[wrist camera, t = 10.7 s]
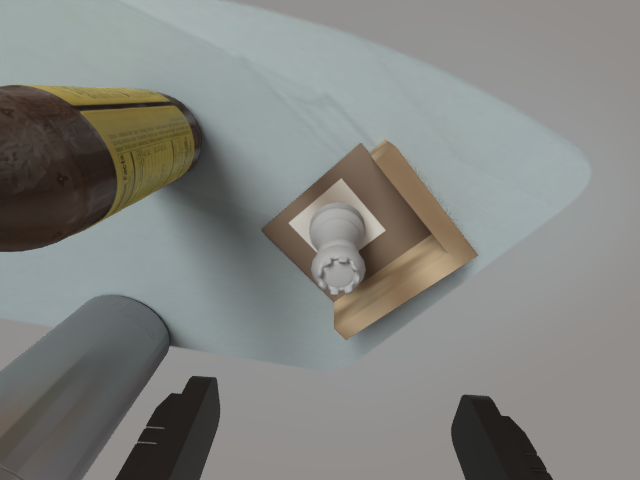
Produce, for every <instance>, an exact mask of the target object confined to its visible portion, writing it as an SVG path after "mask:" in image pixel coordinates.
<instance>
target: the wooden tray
mask: <svg viewBox="0 0 640 480" xmlns="http://www.w3.org/2000/svg"><path fill="white" fill-rule="evenodd" d="M336 202H339V203H344V204H349V205H350V206H352V207H353V208H355V209H357V210H358V211H359V213H360V214H361V216H362V217H363V219H364V224H365V237H364V241H363V244H362V246H361V247H360V248H359V249H358V251H359V254H360V256H361V257H362V259H363V260H364V263H365V269H366V271H365V274H364V278H363V280H362V281H361V282H360V284H359V286H357V287H355V288H353V290H354V292H352V293H350V294H348V295H346V293H345V292H341V293H338V297H337V296H331V295H330V291H327V290H324V291H323V292H324V293H325V294H326V295H327V296H328V297H329V298H330V299H331V300H332V301H333V302H334V329H335V330H336V331H337V332H338V333H339V334H340V335H341V336H342V337H343V338H344V339H345V340H347V339H348V338H350V337H351V336H353V335H355V334H356V333H358V332H359V331H361V330H362V329H364V328H365V327H367V326H369V325H370V324H372V323H373V322H375V321H376V320H378V319H380V318H381V317H383V316H384V315H386V314H387V313H389V312H391V311H392V310H394V309H395V308H397V307H398V306H400V305H401V304H403V303H405V302H406V301H408V300H409V299H411V298H412V297H414V296H416V295H417V294H419V293H420V292H422V291H423V290H425V289H427V288H428V287H430V286H431V285H433V284H434V283H436V282H437V281H439V280H441V279H442V278H444V277H445V276H447V275H448V274H450V273H452V272H453V271H455V270H456V269H458V268H459V267H461V266H463V265H464V264H466V263H467V262H469V261H470V260H472V259H473V258H475V257H477V256H478V255H477V253H476V252H475V251H474V249H473V248H472V247H471V245H470V244H469V243H468V241H467V240H466V239H465V237H464V236H463V235H462V233H461V232H460V231H459V229H458V228H457V227H456V226H455V224H454V223H453V222H452V220H451V219H450V218H449V216H448V215H447V214H446V212H445V211H444V210H443V208H442V207H441V206H440V204H439V203H438V202H437V200H436V199H435V198H434V197H433V195H432V194H431V193H430V191H429V190H428V189H427V187H426V186H425V185H424V183H423V182H422V181H421V179H420V178H419V177H418V175H417V174H416V173H415V171H414V170H413V169H412V168H411V166H410V165H409V164H408V162H407V161H406V160H405V158H404V157H403V156H402V154H401V153H400V152H399V150H398V149H397V148H396V146H394V145H393V144H391V143H390V142H388V141H387V140H384V141H383V142H382V143H381V144H380V145H378V146H377V147H376V148H375V149H374V150H372V151H371V152H370V153H368V151H367V150H366V149H365V148H364V146H363V145H362V144H361V143H360V144H359V145H358V146H357V147H355V148H354V149H353V150H352V151H351V152H350V153H349V154H347V155H346V156H345V157H344V158H343V159H342V160H341V161H339V162H338V163H337V164H336V165H335V166H334V167H332V168H331V169H330V170H329V171H328V172H327V173H326V174H324V175H323V176H322V177H321V178H320V179H319V180H318V181H316V182H315V183H314V184H313V185H312V186H311V187H310V188H308V189H307V190H306V191H305V192H304V193H303V194H302V195H300V196H299V197H298V198H297V199H296V200H295V201H293V202H292V203H291V204H290V205H289V206H288V207H287V208H285V209H284V210H283V211H282V212H281V213H280V214H279V215H277V216H276V217H275V218H274V219H273V220H272V221H271V222H269V223H268V224H267V225H266V226H265V227H264V228H263V229H262V230H261V231H262V232H263V233H264V234H265V235H266V236H267V237H268V238H269V239H270V240H271V241H272V242H273V243H274V244H275V245H276V246H277V247H278V248H279V249H281V250H282V251H283V252H284V253H285V254H286V255H287V256H288V257H289V258H290V259H291V260H292V261H293V262H294V263H295V264H296V265H297V266H298V267H299V268H300V269H301V270H302V271H303V272H304V273H305V274H306V275H307V276H308V277H309V278H310V279H311V280H312V281H313V282H314V283H315V284H316V285H317V286H318V284H317V283H316V281H315V280H314V279H313V276H312V272H311V267H312V262H313V259H314V258H315V257H316V255H317V250H316V249H315V247H314V246H313V245H312V243H311V239H310V235H309V232H310V231H309V227H310V222H311V218H312V217H313V215H314V214H315V212H316V211H317V210H318V209H320V208H321V207H323V206H324V205H326V204H330V203H336ZM318 287H319V286H318ZM319 288H320V287H319ZM320 289H321V288H320ZM321 290H322V289H321Z"/></svg>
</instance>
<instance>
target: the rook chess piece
mask: <svg viewBox="0 0 640 480" xmlns="http://www.w3.org/2000/svg"><path fill="white" fill-rule="evenodd" d="M309 231H310V232H309V235H310V239H311V243H312V245H313V246H314V247H315V249H316V250H317V255H316V257H315V258H314V259H313V262H312V267H311V272H312V276H313V279H314V280H315V281H316V283H317V284H318V286H319V287H320V288H321V289H322V291H324V290H327V291H330V295H331V296H337V297H338V293H341V292H345V293H346V295H348V294H350V293H352V292H354V290H353V288H355V287H357V286H359V284H360V282H361V281H362V280H363V278H364V274H365V271H366V269H365V263H364V260H363V259H362V257H361V256H360V254H359V251H358V249H359V248H360V247H361V246H362V244H363V241H364V237H365V224H364V219H363V217H362V216H361V214H360V213H359V211H358V210H357V209H355V208H353V207H352V206H350V205H349V204H344V203H339V202H336V203H330V204H326V205H324V206H323V207H321V208H320V209H318V210H317V211H316V212H315V214H314V215H313V217H312V218H311V222H310V227H309Z"/></svg>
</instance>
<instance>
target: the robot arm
mask: <svg viewBox="0 0 640 480" xmlns="http://www.w3.org/2000/svg"><path fill="white" fill-rule="evenodd" d="M169 346H170V338H169V334H168V331H167V329H166V327H165V325H164V323H163V322H162V321H161V319H160V318H159V317H158V316H157V315H156V314H155V313H154V312H153V311H152V310H151V309H149V308H147V307H146V306H144V305H143V304H141V303H139V302H137V301H135V300H132V299H129V298H126V297H122V296H114V295H108V296H100V297H96V298H93V299H91V300H90V301H88V302H86V303H85V304H84V305H83V306H81V307H80V308H79V309H78V310H76V311H75V312H74V313H73V314H71V315H70V316H69V317H68V318H66V319H65V320H64V321H63V322H61V323H60V324H59V325H58V326H56V327H55V328H54V329H52V330H51V331H50V332H49V333H47V334H46V335H45V336H44V337H42V338H41V339H40V340H39V341H37V342H36V343H35V344H34V345H33V346H31V347H30V348H29V349H28V350H26V351H25V352H24V353H22V354H21V355H20V356H19V357H17V358H16V359H15V360H14V361H12V362H11V363H10V364H9V365H7V366H6V367H5V368H4V369H3V370H1V371H0V480H82V479H83V478H84V476H85V475H86V473H87V472H88V470H89V469H90V467H91V465H92V464H93V462H94V461H95V460H96V458H97V457H98V455H99V454H100V452H101V451H102V449H103V448H104V446H105V445H106V443H107V442H108V440H109V439H110V437H111V436H112V434H113V433H114V431H115V430H116V428H117V427H118V425H119V424H120V422H121V421H122V419H123V418H124V417H125V415H126V414H127V412H128V411H129V409H130V408H131V406H132V405H133V403H134V402H135V400H136V399H137V397H138V396H139V394H140V393H141V391H142V390H143V388H144V387H145V386H146V384H147V382H148V381H149V380H150V378H151V377H152V375H153V374H154V372H155V371H156V369H157V368H158V366H159V364H160V363H161V361H162V360H163V359H164V357H165V355H166V354H167V352H168V349H169ZM219 418H220V402H219V393H218V385H217V379H216V378H215V377H201V376H192V377H191V378H190V379H189V381H188V383H187V384H186V386H185V388H184V390H183V392H182V394H175V393H171V394H170V395H169V396H168V397H167V398H166V399H165V400H164V401H163V402H162V403H161V404H160V405H159V406H158V407H157V408H156V409H155V411H154V413H153V415H152V417H151V418H150V420H149V422H148V423H147V425H146V429H144V430H143V432H142V434H141V435H140V437H139V439H138V442H137V444H136V445H135V446H134V448H133V449H132V451H131V453H130V455H129V457H128V458H127V460H126V462H125V464H124V465H123V467H122V469H121V471H120V472H119V474H118V476H117V478H116V479H115V480H199V479H200V477H201V474H202V471H203V468H204V465H205V463H206V460H207V457H208V454H209V451H210V448H211V445H212V442H213V439H214V437H215V434H216V431H217V427H218V423H219ZM451 435H452V442H453V446H454V449H455V451H456V454H457V457H458V460H459V462H460V465H461V468H462V471H463V473H464V476H465V479H466V480H553V479H552V477H551V476H550V474H549V473H547V471H546V467H545V465H544V464H543V462H542V460H541V459H540V457H539V456H537V452H536V450H535V449H534V447H533V445H532V444H531V442H530V440H529V439H528V437H527V435H526V434H525V432H524V431H523V430H521V428H520V427H519V426H518V425H517V424H516V423H515V422H514V421H513V420H512V419H511V418H510V417H509V416H501V414H500V412H499V410H498V409H497V407H496V405H495V403H494V402H493V400H492V399H491V398H490V397H488V396H477V395H463V396H462V398H461V400H460V403H459V406H458V409H457V412H456V415H455V417H454V420H453V423H452V428H451Z"/></svg>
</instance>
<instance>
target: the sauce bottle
mask: <svg viewBox="0 0 640 480" xmlns="http://www.w3.org/2000/svg"><path fill="white" fill-rule="evenodd" d="M201 140H202V135H201V131H200V128H199V126H198V124H197V122H196V120H195V119H194V117H193V115H192V114H191V113H190V112H189V110H188V109H187V108H186V107H185V106H184V104H182V103H181V102H180V101H178V100H177V99H175V98H173V97H170V96H168V95H165V94H162V93H158V92H154V91H151V90H145V89H126V88H94V87H67V86H42V85H6V86H2V87H0V252H16V251H26V250H32V249H37V248H42V247H45V246H48V245H51V244H54V243H57V242H59V241H61V240H63V239H65V238H67V237H68V236H71V235H74V234H77V233H79V232H82V231H84V230H86V229H88V228H90V227H91V226H93V225H95V224H97V223H99V222H100V221H102V220H104V219H106V218H108V217H109V216H111V215H113V214H115V213H117V212H119V211H121V210H122V209H124V208H125V207H127V206H130V205H132V204H134V203H136V202H138V201H139V200H141V199H143V198H144V197H146V196H148V195H150V194H151V193H153V192H155V191H157V190H159V189H160V188H162V187H164V186H166V185H168V184H169V183H171V182H173V181H175V180H177V179H178V178H180V177H181V176H182V175H183V174H185V173H186V172H188V171H190V170H191V169H192V168H193V167H194V165H195V164H196V162H197V160H198V157H199V154H200V150H201Z"/></svg>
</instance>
